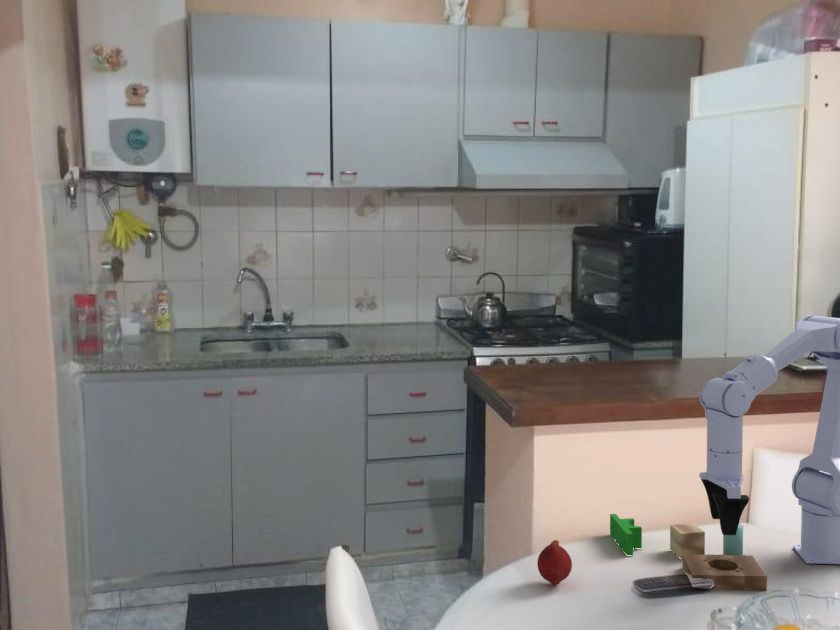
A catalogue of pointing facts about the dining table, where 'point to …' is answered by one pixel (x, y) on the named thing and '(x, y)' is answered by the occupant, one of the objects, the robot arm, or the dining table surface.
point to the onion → (554, 563)
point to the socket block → (727, 571)
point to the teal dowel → (733, 542)
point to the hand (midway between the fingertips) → (723, 526)
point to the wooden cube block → (687, 539)
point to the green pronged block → (625, 533)
